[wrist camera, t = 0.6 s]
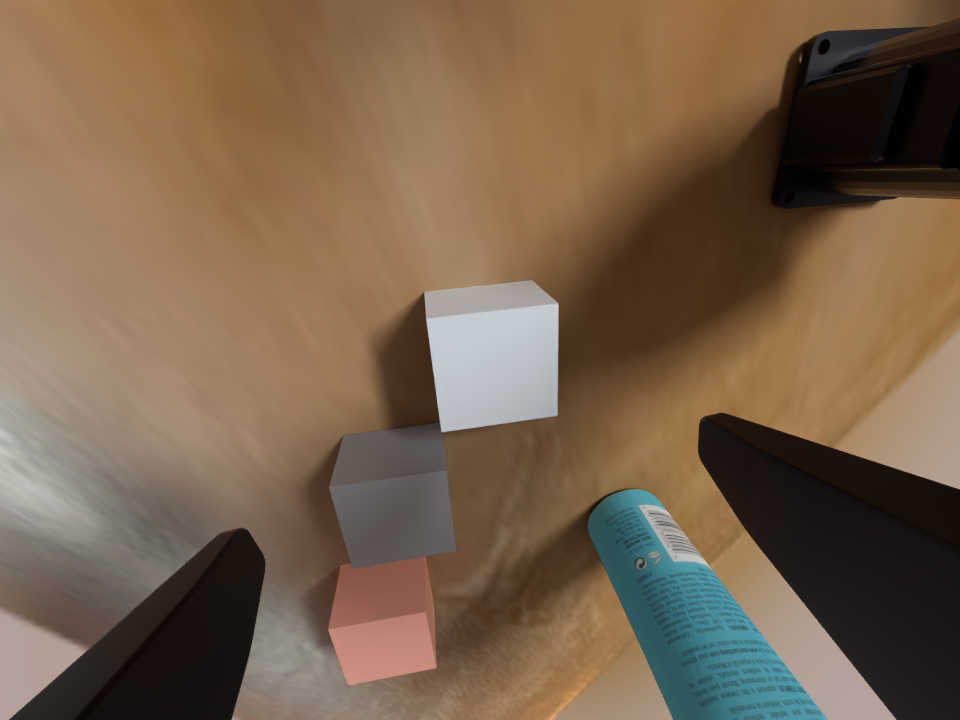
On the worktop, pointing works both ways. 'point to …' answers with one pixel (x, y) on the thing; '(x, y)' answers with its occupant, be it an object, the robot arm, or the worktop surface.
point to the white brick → (493, 353)
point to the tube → (690, 620)
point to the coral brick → (383, 620)
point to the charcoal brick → (393, 495)
